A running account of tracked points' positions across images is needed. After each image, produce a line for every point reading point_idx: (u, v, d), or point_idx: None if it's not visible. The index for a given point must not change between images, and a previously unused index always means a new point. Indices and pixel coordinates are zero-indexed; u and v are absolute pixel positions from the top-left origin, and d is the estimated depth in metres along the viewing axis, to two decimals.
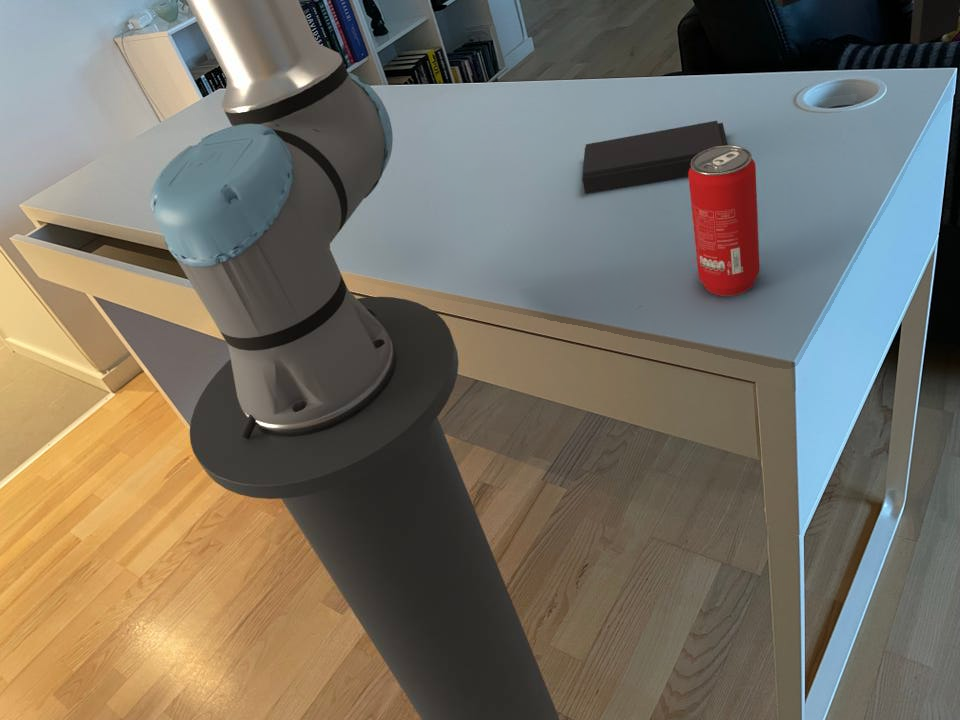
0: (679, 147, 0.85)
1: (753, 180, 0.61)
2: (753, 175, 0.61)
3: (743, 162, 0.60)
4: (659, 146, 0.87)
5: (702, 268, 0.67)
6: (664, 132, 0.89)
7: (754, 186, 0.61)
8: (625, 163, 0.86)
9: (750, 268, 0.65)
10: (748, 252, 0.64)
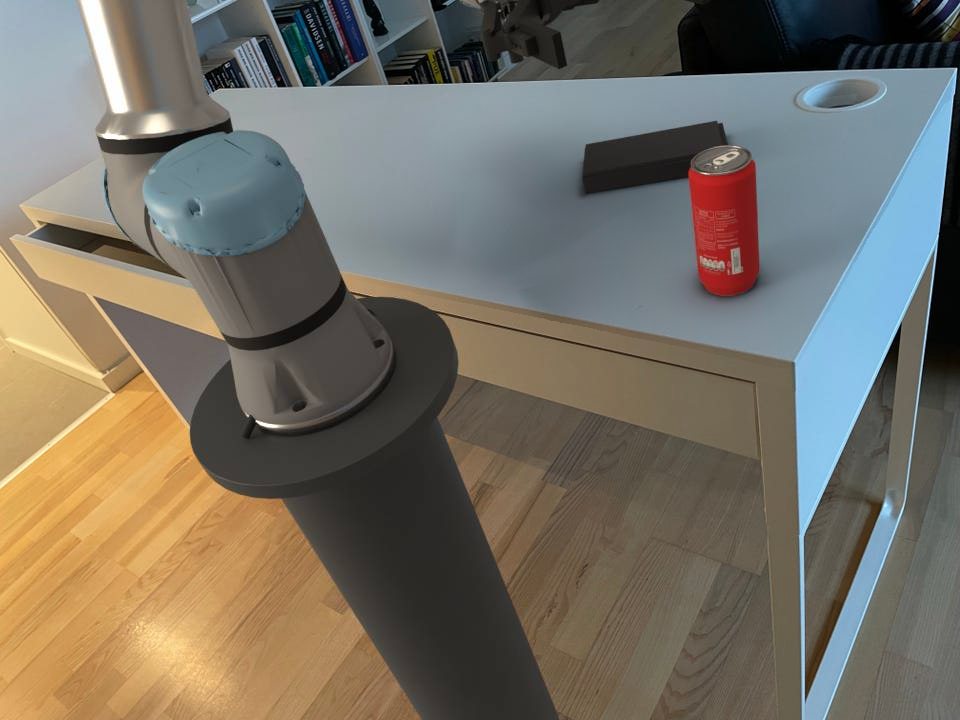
0: (679, 147, 0.85)
1: (753, 180, 0.61)
2: (753, 175, 0.61)
3: (743, 162, 0.60)
4: (659, 146, 0.87)
5: (702, 268, 0.67)
6: (664, 132, 0.89)
7: (754, 186, 0.61)
8: (625, 163, 0.86)
9: (750, 268, 0.65)
10: (748, 252, 0.64)
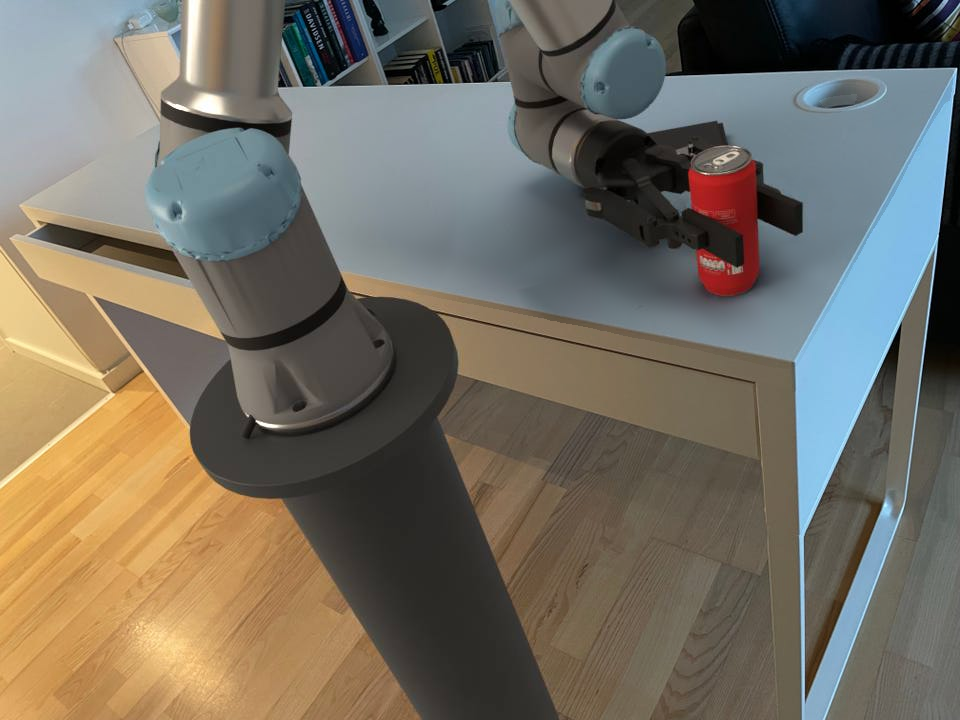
0: (679, 147, 0.85)
1: (753, 180, 0.61)
2: (753, 175, 0.61)
3: (743, 162, 0.60)
4: None
5: (702, 268, 0.67)
6: (664, 132, 0.89)
7: (754, 186, 0.61)
8: None
9: (750, 268, 0.65)
10: (748, 252, 0.64)
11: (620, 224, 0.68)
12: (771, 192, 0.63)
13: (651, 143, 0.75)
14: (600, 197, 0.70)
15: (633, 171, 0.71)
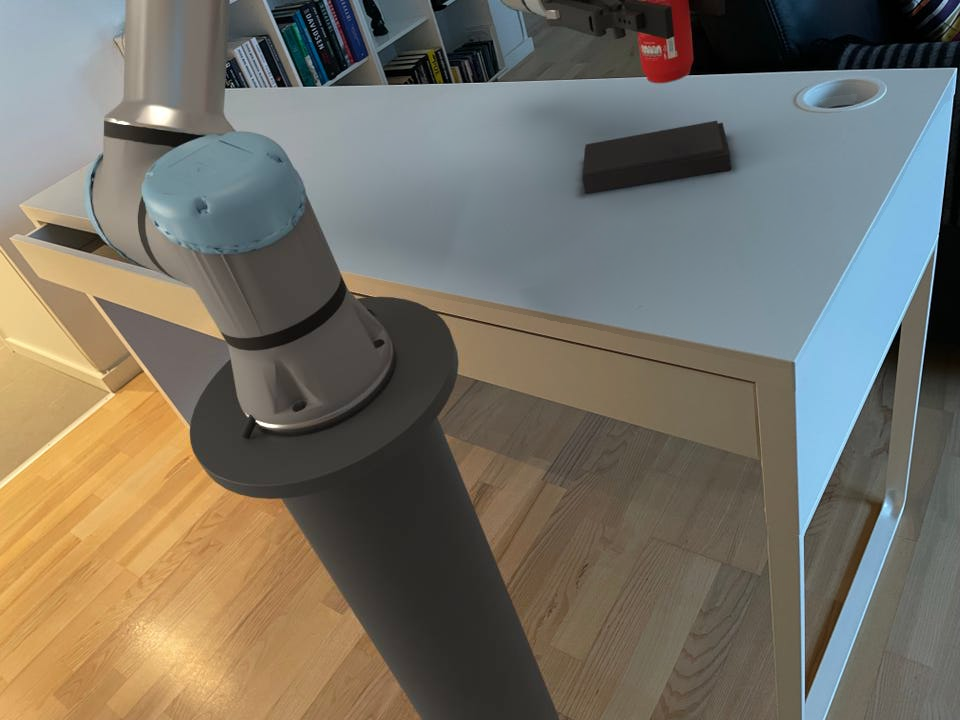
0: (679, 147, 0.85)
1: None
2: None
3: None
4: (659, 146, 0.87)
5: (643, 57, 0.77)
6: (664, 132, 0.89)
7: None
8: (625, 163, 0.86)
9: (684, 53, 0.76)
10: (681, 37, 0.75)
11: (574, 24, 0.79)
12: None
13: None
14: (558, 4, 0.81)
15: None
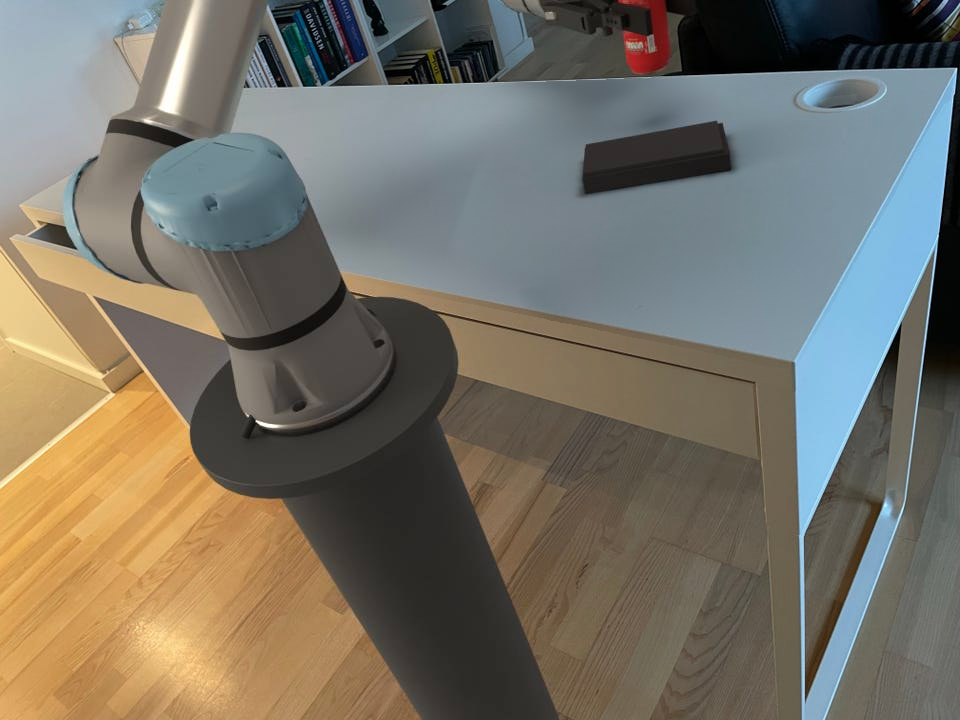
0: (679, 147, 0.85)
1: None
2: None
3: None
4: (659, 146, 0.87)
5: (628, 52, 0.91)
6: (664, 132, 0.89)
7: None
8: (625, 163, 0.86)
9: (662, 48, 0.90)
10: (659, 34, 0.89)
11: (569, 24, 0.93)
12: None
13: None
14: (555, 6, 0.94)
15: None
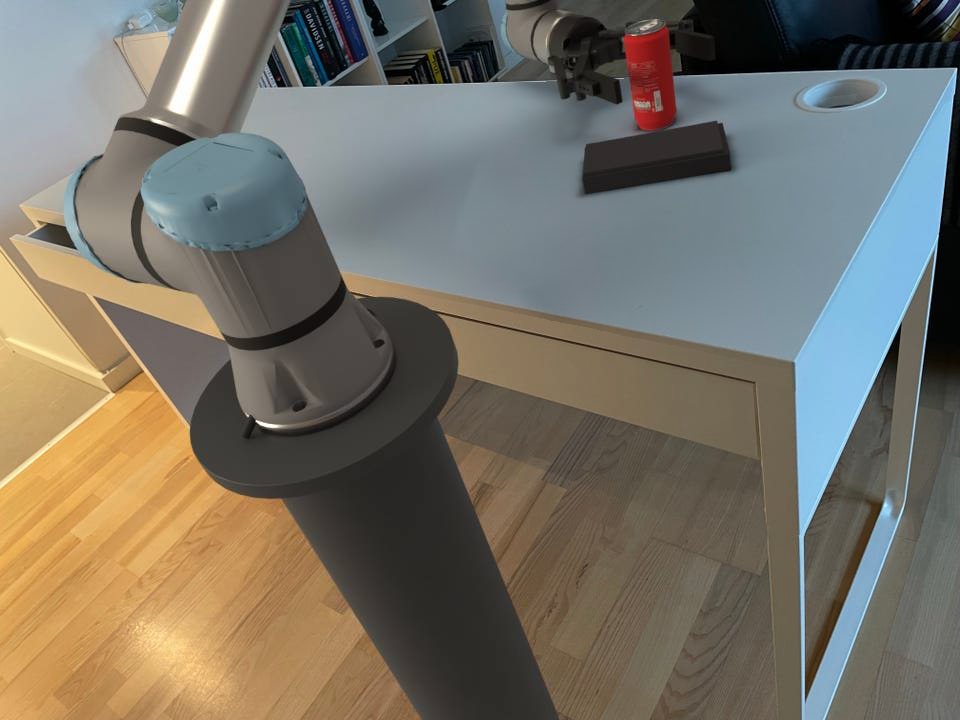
0: (679, 147, 0.85)
1: (666, 40, 0.90)
2: (666, 36, 0.89)
3: (659, 26, 0.89)
4: (659, 146, 0.87)
5: (636, 109, 0.95)
6: (664, 132, 0.89)
7: (667, 45, 0.90)
8: (625, 163, 0.86)
9: (668, 107, 0.94)
10: (666, 95, 0.93)
11: (557, 82, 0.98)
12: (695, 33, 0.93)
13: (604, 30, 1.04)
14: (553, 62, 0.99)
15: (589, 44, 0.99)
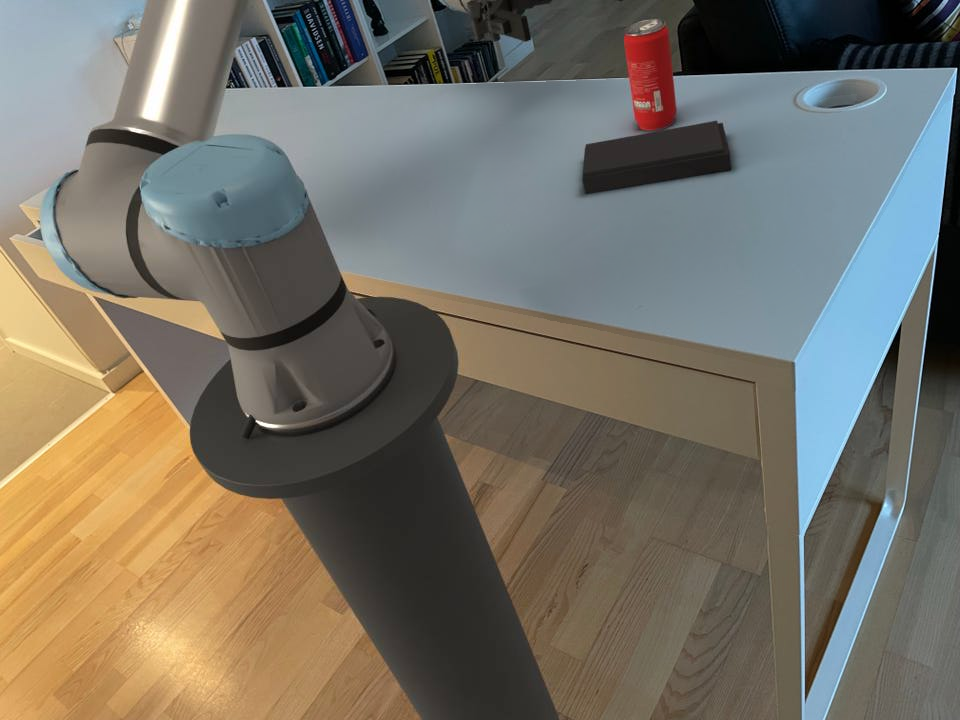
0: (679, 147, 0.85)
1: (666, 40, 0.90)
2: (666, 36, 0.89)
3: (659, 26, 0.89)
4: (659, 146, 0.87)
5: (636, 109, 0.95)
6: (664, 132, 0.89)
7: (667, 45, 0.90)
8: (625, 163, 0.86)
9: (668, 107, 0.94)
10: (666, 95, 0.93)
11: None
12: None
13: None
14: (471, 6, 1.00)
15: None
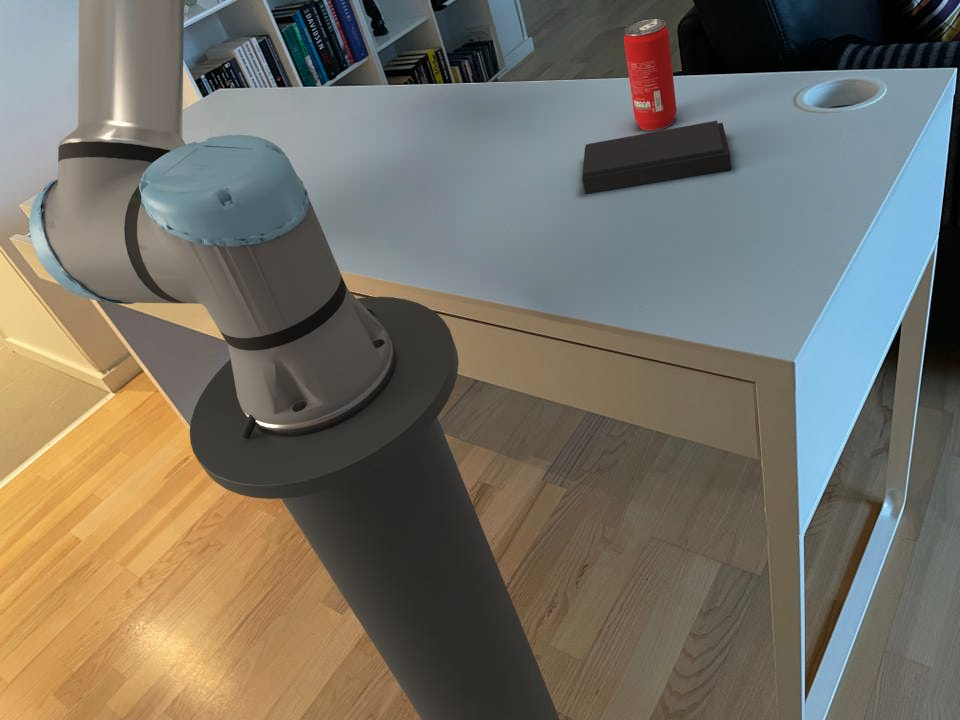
0: (679, 147, 0.85)
1: (666, 40, 0.90)
2: (666, 36, 0.89)
3: (659, 26, 0.89)
4: (659, 146, 0.87)
5: (636, 109, 0.95)
6: (664, 132, 0.89)
7: (667, 45, 0.90)
8: (625, 163, 0.86)
9: (668, 107, 0.94)
10: (666, 95, 0.93)
11: None
12: None
13: None
14: None
15: None
